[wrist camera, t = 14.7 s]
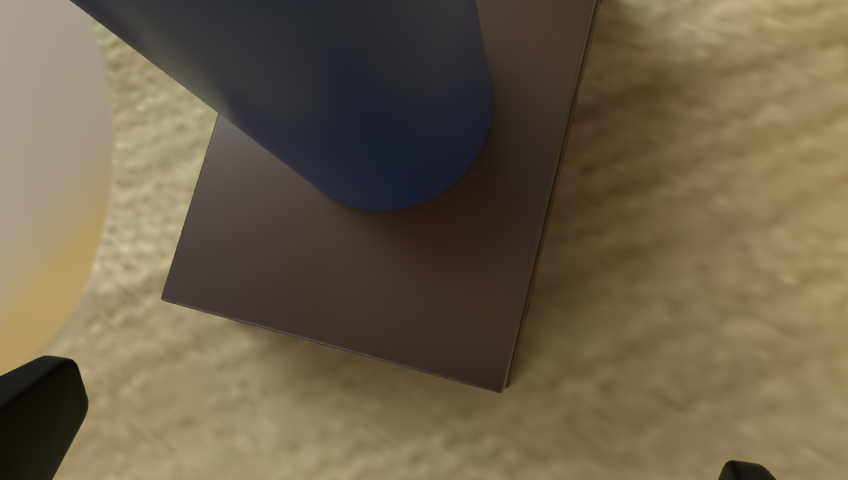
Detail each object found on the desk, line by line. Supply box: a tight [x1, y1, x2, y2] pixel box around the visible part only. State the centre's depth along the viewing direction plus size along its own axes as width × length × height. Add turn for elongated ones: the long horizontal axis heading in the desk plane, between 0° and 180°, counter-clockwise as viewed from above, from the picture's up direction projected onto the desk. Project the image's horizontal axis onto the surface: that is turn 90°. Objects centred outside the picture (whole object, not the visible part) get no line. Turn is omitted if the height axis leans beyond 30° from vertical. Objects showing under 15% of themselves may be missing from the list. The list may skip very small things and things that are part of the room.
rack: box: [161, 0, 601, 393], centre depth 20 cm, size 14×10×4 cm
